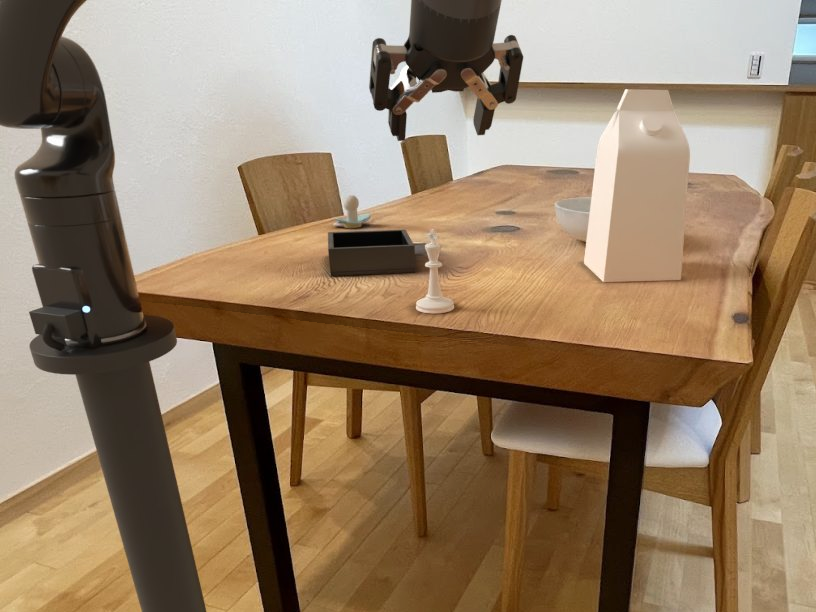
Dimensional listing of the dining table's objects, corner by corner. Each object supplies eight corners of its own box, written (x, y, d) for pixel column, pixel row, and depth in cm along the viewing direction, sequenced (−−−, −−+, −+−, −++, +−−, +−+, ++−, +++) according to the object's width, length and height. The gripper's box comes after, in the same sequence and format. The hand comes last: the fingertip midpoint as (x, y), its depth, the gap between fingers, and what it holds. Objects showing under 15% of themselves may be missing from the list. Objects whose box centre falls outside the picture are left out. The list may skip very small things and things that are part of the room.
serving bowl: (669, 258, 111) (674, 217, 109) (546, 252, 115) (547, 211, 112) (665, 234, 130) (669, 198, 127) (559, 229, 133) (561, 194, 131)
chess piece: (439, 316, 82) (437, 235, 78) (407, 309, 84) (403, 230, 80) (461, 305, 86) (460, 228, 82) (430, 300, 88) (427, 224, 84)
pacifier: (327, 226, 133) (341, 230, 129) (324, 194, 131) (337, 197, 126) (360, 222, 137) (374, 226, 133) (357, 191, 135) (371, 194, 131)
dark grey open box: (415, 272, 101) (414, 245, 99) (330, 276, 98) (328, 249, 96) (406, 253, 112) (405, 229, 110) (330, 257, 109) (327, 232, 107)
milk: (654, 261, 109) (672, 90, 99) (680, 279, 99) (704, 90, 88) (583, 263, 108) (594, 88, 97) (603, 282, 97) (617, 89, 87)
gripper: (525, -44, 58) (494, 102, 73) (363, -47, 54) (364, 109, 68) (550, 15, 55) (513, 154, 70) (381, 17, 51) (378, 165, 66)
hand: (439, 132), depth 69 cm, fingers open, 8 cm apart
